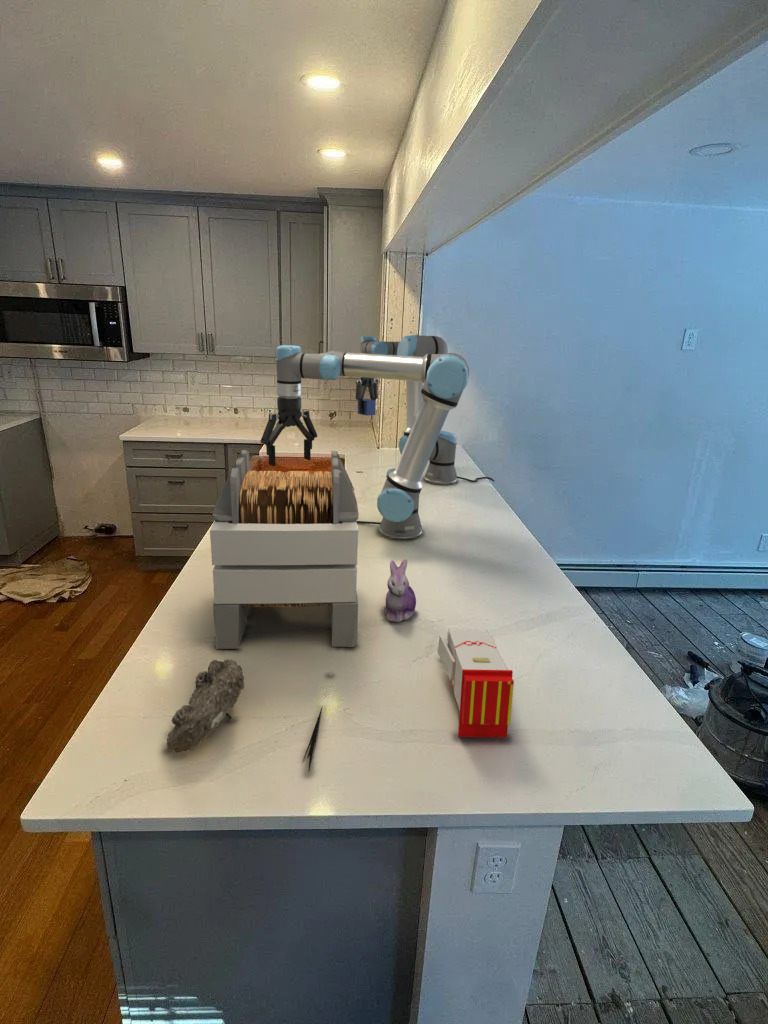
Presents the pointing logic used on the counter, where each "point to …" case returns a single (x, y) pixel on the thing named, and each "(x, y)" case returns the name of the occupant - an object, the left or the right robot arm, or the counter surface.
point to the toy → (478, 682)
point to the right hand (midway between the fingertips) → (366, 413)
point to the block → (368, 407)
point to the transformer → (285, 547)
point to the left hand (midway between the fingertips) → (290, 462)
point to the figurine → (399, 594)
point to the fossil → (206, 705)
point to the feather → (313, 740)
